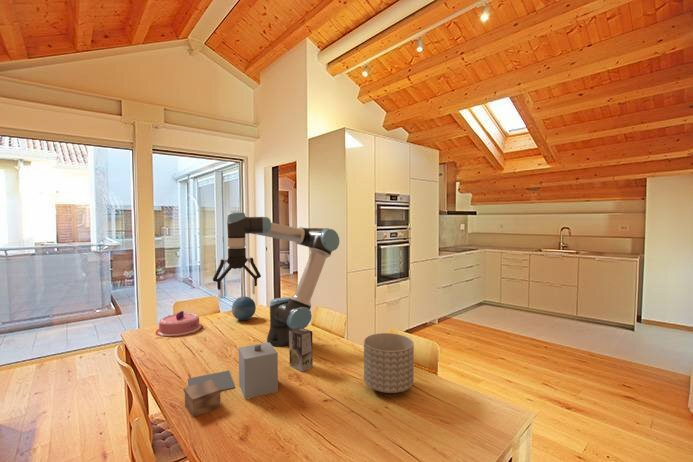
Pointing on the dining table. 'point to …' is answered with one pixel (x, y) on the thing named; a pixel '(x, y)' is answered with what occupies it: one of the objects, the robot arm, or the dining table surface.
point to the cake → (179, 325)
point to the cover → (258, 370)
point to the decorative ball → (243, 308)
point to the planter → (388, 362)
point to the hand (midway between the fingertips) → (237, 295)
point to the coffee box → (300, 349)
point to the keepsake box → (202, 397)
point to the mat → (214, 380)
